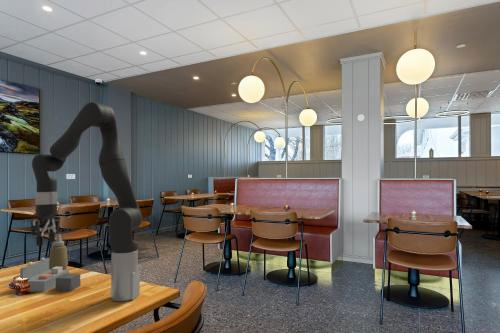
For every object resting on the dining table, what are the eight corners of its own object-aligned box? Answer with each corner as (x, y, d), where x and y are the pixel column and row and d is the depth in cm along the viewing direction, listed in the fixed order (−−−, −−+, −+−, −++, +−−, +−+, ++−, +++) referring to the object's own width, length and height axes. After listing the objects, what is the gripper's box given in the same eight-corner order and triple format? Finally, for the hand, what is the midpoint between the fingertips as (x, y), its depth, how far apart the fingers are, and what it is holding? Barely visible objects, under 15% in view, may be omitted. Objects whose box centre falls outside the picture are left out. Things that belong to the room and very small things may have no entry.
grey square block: (80, 285, 129) (81, 273, 129) (70, 291, 123) (71, 278, 123) (65, 285, 129) (65, 273, 130) (54, 291, 123) (54, 278, 123)
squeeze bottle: (61, 275, 143) (61, 235, 143) (43, 275, 143) (44, 235, 143) (71, 270, 151) (72, 232, 151) (55, 270, 151) (55, 232, 152)
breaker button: (51, 283, 129) (51, 273, 129) (46, 286, 125) (46, 276, 125) (44, 283, 129) (44, 273, 129) (38, 286, 126) (38, 276, 126)
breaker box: (68, 279, 137) (69, 255, 138) (44, 291, 122) (44, 265, 123) (46, 278, 138) (46, 255, 138) (19, 291, 123) (19, 265, 123)
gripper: (42, 204, 121) (42, 248, 120) (66, 201, 135) (66, 240, 135) (24, 204, 121) (23, 247, 121) (49, 201, 136) (49, 240, 135)
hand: (45, 243), depth 128 cm, fingers open, 6 cm apart
